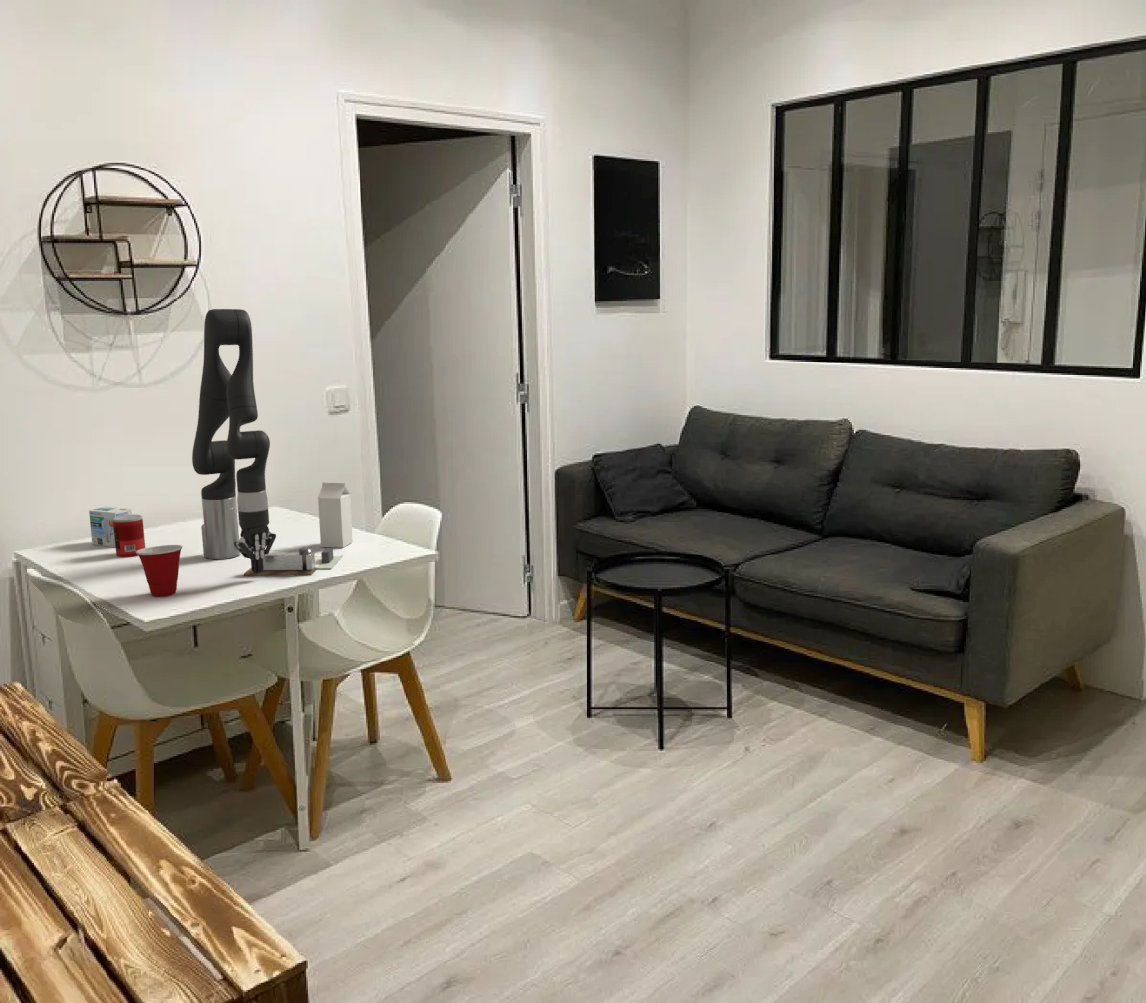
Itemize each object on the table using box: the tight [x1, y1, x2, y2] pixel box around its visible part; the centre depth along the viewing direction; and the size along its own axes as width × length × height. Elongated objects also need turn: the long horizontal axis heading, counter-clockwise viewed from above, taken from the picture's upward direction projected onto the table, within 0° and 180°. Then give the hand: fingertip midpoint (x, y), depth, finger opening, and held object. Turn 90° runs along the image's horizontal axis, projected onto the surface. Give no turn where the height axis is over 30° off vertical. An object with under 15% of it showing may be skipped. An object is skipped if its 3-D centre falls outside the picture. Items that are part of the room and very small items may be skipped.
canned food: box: [113, 514, 146, 558], centre depth 291 cm, size 8×8×11 cm
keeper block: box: [320, 547, 334, 563], centre depth 280 cm, size 2×5×4 cm, turn 0°
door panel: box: [314, 555, 343, 570], centre depth 279 cm, size 22×13×1 cm, turn 90°
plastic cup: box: [136, 544, 183, 598], centre depth 250 cm, size 11×11×12 cm
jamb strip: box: [243, 567, 318, 577], centre depth 270 cm, size 18×6×1 cm, turn 90°
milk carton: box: [317, 481, 354, 549], centre depth 298 cm, size 7×7×19 cm
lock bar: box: [263, 547, 315, 570], centre depth 269 cm, size 16×3×5 cm, turn 90°
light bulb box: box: [88, 506, 133, 548], centre depth 303 cm, size 11×7×11 cm, turn 68°
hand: (257, 572), depth 263 cm, fingers closed
